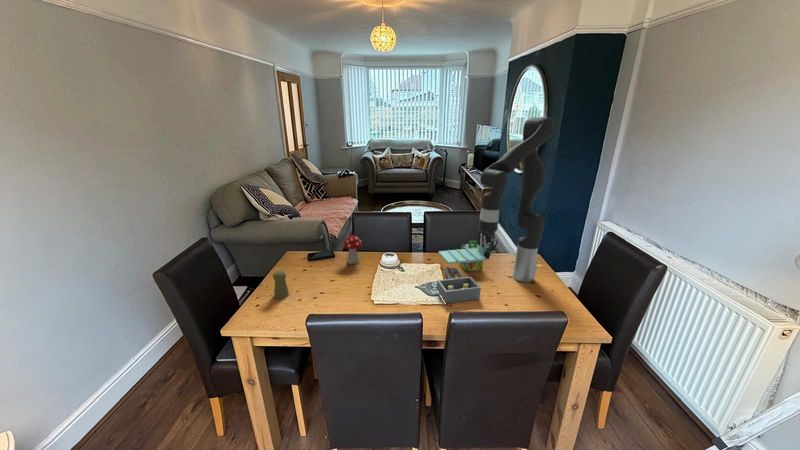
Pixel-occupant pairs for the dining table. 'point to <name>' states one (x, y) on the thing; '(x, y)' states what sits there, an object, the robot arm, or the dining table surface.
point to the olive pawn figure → (280, 285)
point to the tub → (458, 290)
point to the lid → (464, 255)
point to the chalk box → (472, 265)
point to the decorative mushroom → (352, 249)
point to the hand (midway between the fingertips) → (484, 257)
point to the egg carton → (452, 272)
